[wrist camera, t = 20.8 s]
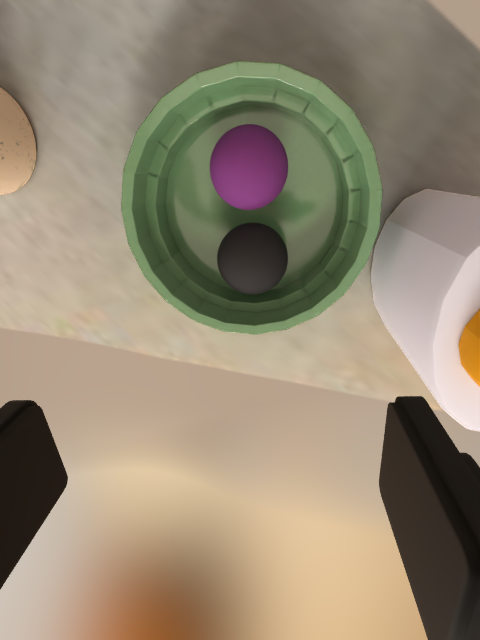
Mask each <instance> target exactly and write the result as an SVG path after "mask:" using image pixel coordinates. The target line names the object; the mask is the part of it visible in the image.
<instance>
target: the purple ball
mask: <svg viewBox="0 0 480 640" xmlns="http://www.w3.org/2000/svg"><path fill="white" fill-rule="evenodd" d="M287 175H288V158H287V154H286V151H285V148H284V146H283V144H282V143H281V141H280V139H279V138H278V137H277V136H276V135H275V134H274V133H273V132H272V131H270V130H269V129H267V128H265V127H263V126H260V125H255V124H244V125H239V126H236V127H234V128H232V129H230V130H229V131H227V132H226V133H225V134H224V135H223V136H222V137H221V138H220V139H219V140H218V142H217V143H216V145H215V147H214V149H213V151H212V155H211V159H210V176H211V180H212V183H213V186H214V188H215V190H216V192H217V193H218V194H219V196H220V197H221V198H222V199H223V200H224V201H225V202H227V203H228V204H230V205H231V206H233V207H236V208H239V209H243V210H254V209H259V208H262V207H264V206H266V205H268V204H269V203H271V202H272V201H273V200H274V199H275V198H276V197H277V196H278V195H279V194H280V192H281V191H282V189H283V187H284V185H285V183H286V179H287Z"/></svg>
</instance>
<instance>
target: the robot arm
mask: <svg viewBox="0 0 480 640" xmlns="http://www.w3.org/2000/svg"><path fill="white" fill-rule="evenodd" d="M67 480H68V476H67V473H66V471H65V468H64V465H63V463H62V460H61V457H60V455H59V452H58V449H57V447H56V445H55V442H54V439H53V437H52V434H51V431H50V429H49V426H48V423H47V421H46V418H45V416H44V413H43V410H42V409H41V407H40V406H38V405H37V404H36V403H35V402H34V401H31V400H18V401H17V400H16V401H15V400H14V401H9V402H7V403H6V404H5V405H4V406H3V407H2V408H0V589H1V587H2V586H3V584H4V583H5V581H6V580H7V578H8V577H9V575H10V573H11V572H12V570H13V569H14V567H15V566H16V564H17V563H18V561H19V559H20V558H21V556H22V555H23V553H24V552H25V550H26V549H27V547H28V545H29V544H30V542H31V541H32V539H33V538H34V536H35V534H36V533H37V531H38V530H39V528H40V527H41V525H42V524H43V522H44V520H45V519H46V518H47V516H48V514H49V513H50V511H51V510H52V508H53V507H54V505H55V504H56V502H57V500H58V499H59V497H60V496H61V494H62V493H63V491H64V489H65V488H66V485H67ZM379 487H380V493H381V497H382V500H383V503H384V506H385V509H386V512H387V515H388V518H389V521H390V524H391V527H392V530H393V533H394V537H395V540H396V543H397V546H398V549H399V552H400V555H401V558H402V561H403V564H404V567H405V570H406V573H407V576H408V579H409V582H410V586H411V589H412V592H413V595H414V598H415V601H416V604H417V607H418V610H419V613H420V616H421V619H422V622H423V626H424V628H425V632H426V635H427V638H428V640H480V467H479V466H478V465H477V463H476V462H475V460H474V459H473V458H472V457H471V456H470V455H468V454H467V453H460V452H459V451H458V449H457V448H456V447H455V445H454V443H453V442H452V440H451V439H450V437H449V435H448V434H447V432H446V431H445V429H444V428H443V426H442V425H441V423H440V422H439V420H438V418H437V417H436V416H435V414H434V412H433V411H432V409H431V408H430V406H429V405H428V403H427V401H426V400H425V399H424V398H423V397H421V396H404V397H397V398H396V400H395V403H389V404H388V408H387V417H386V425H385V434H384V442H383V451H382V460H381V468H380V477H379Z"/></svg>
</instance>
